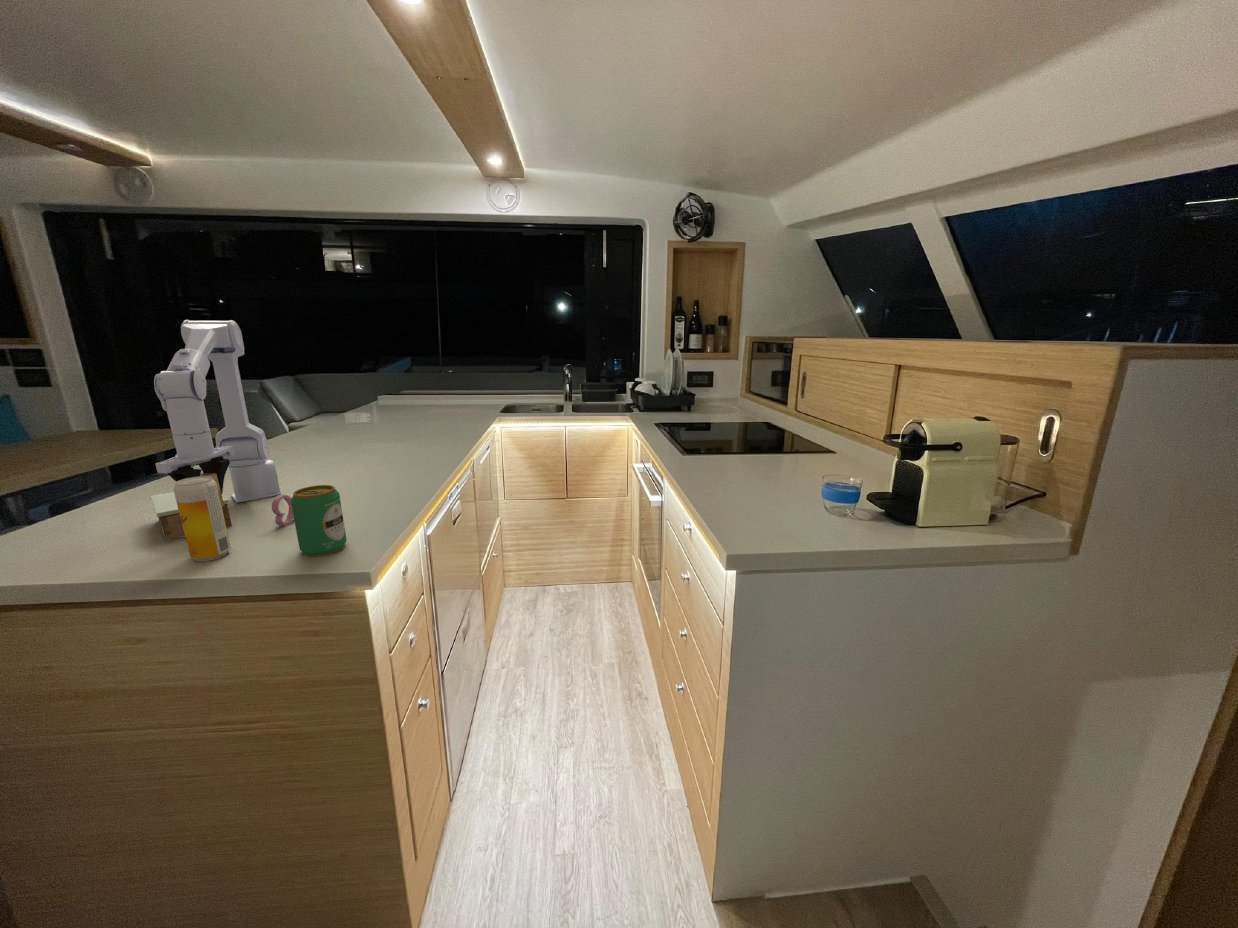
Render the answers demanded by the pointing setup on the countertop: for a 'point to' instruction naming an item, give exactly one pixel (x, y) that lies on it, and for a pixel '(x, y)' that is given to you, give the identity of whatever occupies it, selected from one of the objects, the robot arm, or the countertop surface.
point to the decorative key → (278, 514)
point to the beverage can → (318, 520)
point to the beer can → (202, 518)
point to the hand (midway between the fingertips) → (206, 498)
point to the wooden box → (174, 525)
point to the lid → (169, 504)
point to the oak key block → (216, 483)
